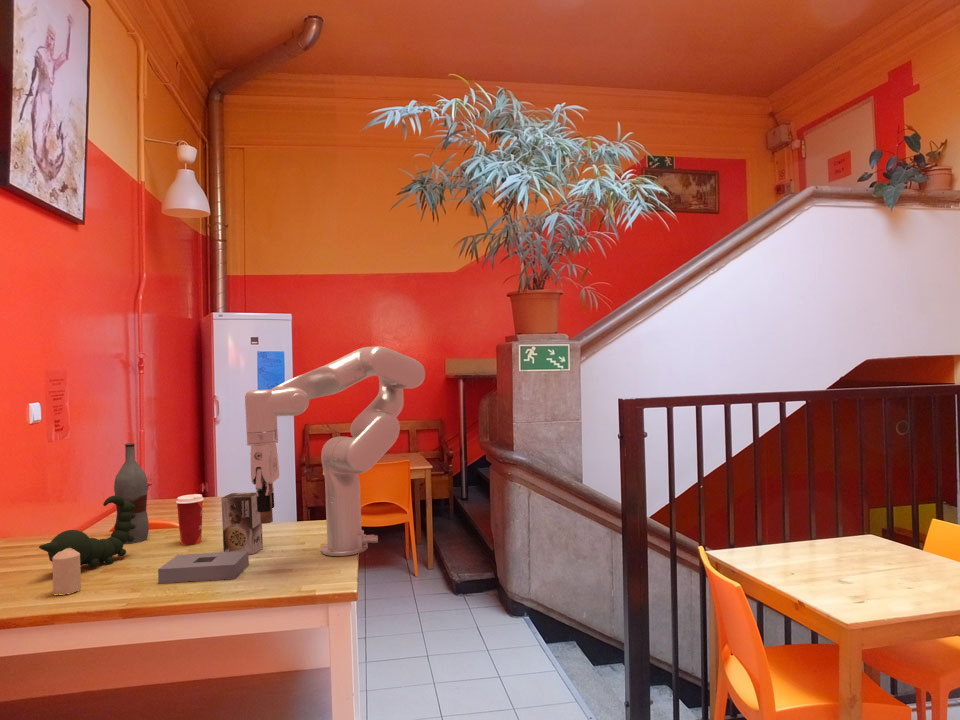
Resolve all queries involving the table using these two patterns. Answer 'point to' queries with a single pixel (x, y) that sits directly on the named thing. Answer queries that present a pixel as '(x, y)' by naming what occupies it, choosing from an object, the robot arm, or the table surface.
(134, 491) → the bottle
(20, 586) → the table surface
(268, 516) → the walnut peg
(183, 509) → the paper cup
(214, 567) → the hole block
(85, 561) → the toy figurine
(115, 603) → the table surface
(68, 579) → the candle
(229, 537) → the coffee box
